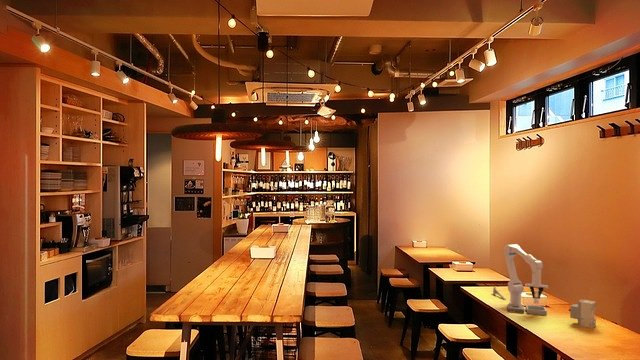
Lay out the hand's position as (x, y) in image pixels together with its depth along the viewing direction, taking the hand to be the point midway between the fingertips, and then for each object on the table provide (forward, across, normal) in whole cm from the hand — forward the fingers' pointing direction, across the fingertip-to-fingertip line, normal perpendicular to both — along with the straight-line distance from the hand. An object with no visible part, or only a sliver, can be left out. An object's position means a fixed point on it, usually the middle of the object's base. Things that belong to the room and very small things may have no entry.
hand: (536, 298), depth 330 cm
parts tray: (+10, 0, 0) cm, 10 cm away
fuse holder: (+10, -13, 0) cm, 16 cm away
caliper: (+10, -22, +40) cm, 47 cm away
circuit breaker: (+10, +24, -21) cm, 33 cm away
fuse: (+3, 0, 0) cm, 3 cm away
